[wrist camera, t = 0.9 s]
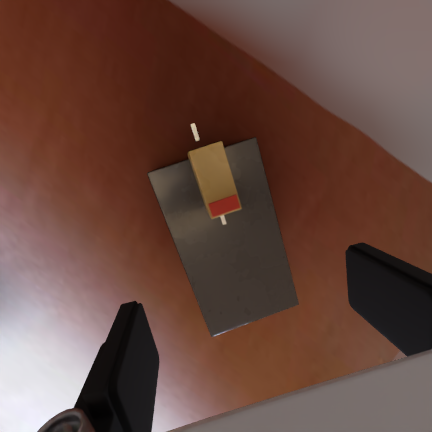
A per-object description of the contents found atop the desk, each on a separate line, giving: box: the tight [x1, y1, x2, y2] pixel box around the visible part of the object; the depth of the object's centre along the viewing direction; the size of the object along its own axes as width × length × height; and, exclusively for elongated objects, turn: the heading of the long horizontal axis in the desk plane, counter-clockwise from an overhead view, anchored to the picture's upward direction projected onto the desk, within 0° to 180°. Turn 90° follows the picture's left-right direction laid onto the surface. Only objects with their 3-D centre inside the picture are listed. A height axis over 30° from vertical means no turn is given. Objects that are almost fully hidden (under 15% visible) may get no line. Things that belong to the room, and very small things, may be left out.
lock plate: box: [147, 123, 299, 337], centre depth 24 cm, size 21×10×3 cm, turn 17°
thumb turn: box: [187, 141, 242, 219], centre depth 18 cm, size 5×2×5 cm, turn 17°
